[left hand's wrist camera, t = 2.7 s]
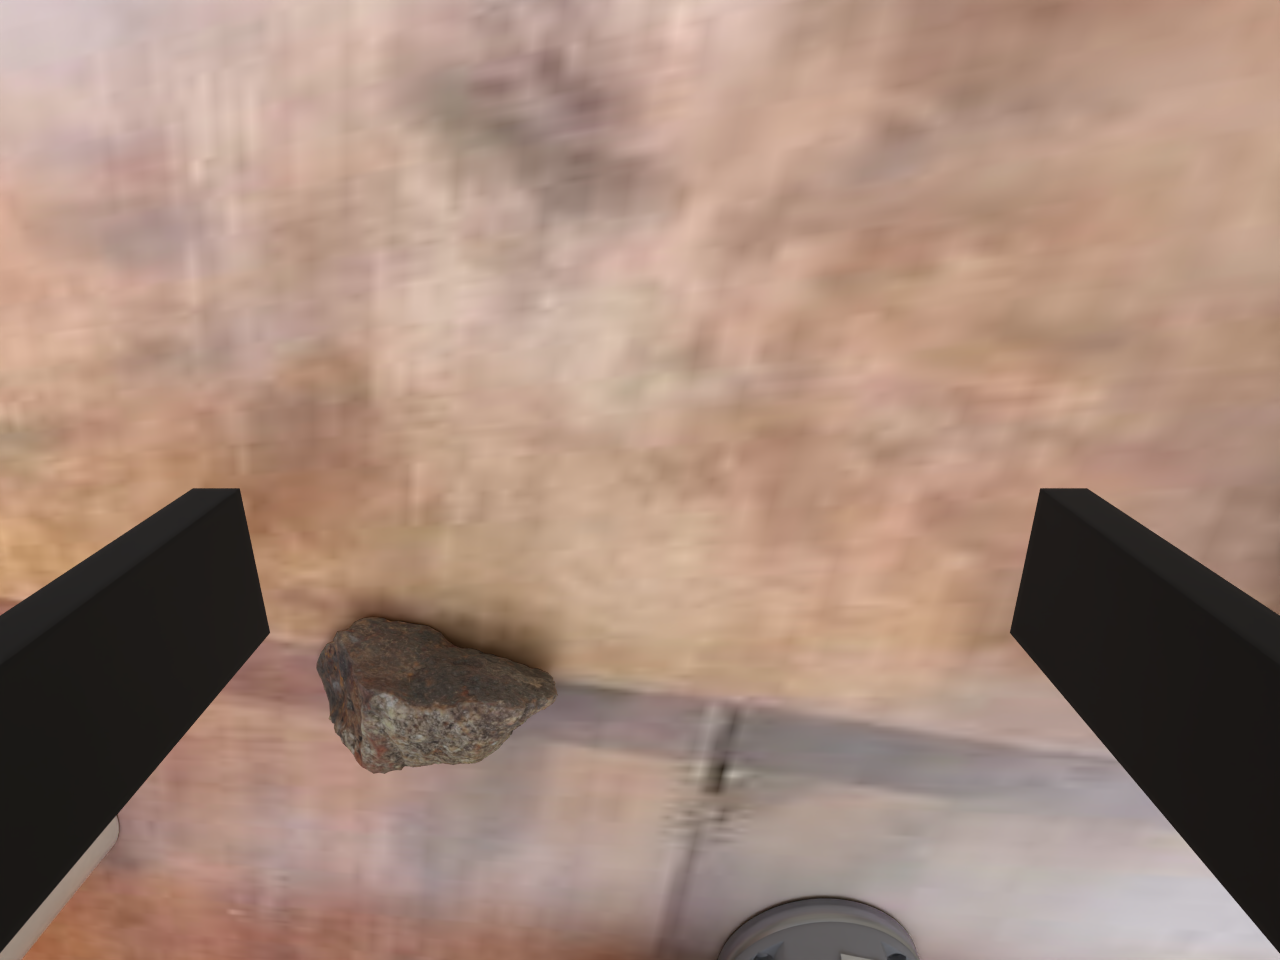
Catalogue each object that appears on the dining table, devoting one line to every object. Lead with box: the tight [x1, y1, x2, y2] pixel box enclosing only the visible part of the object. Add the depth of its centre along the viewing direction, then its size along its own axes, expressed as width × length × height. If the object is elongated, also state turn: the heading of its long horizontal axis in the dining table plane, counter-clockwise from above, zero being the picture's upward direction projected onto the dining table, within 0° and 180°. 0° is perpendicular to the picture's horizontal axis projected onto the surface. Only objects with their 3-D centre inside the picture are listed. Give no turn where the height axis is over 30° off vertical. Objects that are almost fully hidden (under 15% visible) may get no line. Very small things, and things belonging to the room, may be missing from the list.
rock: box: [317, 617, 558, 774], centre depth 43 cm, size 14×9×10 cm
